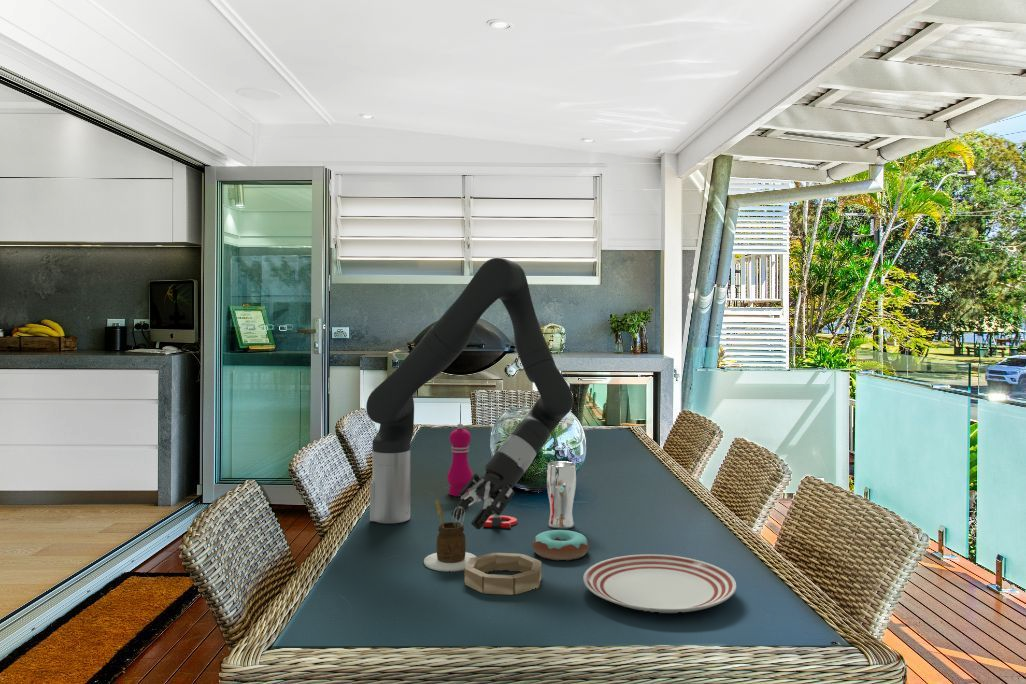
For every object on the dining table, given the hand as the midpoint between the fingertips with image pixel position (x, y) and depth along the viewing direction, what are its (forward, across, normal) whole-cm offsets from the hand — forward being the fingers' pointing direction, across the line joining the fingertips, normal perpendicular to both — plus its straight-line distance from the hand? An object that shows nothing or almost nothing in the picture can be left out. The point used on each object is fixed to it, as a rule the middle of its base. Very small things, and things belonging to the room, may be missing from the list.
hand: (464, 522), depth 157 cm
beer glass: (-17, -10, +29) cm, 35 cm away
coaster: (+8, 0, +3) cm, 9 cm away
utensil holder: (+8, 0, +3) cm, 8 cm away
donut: (-8, +7, +20) cm, 22 cm away
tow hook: (-9, -20, +20) cm, 30 cm away
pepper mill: (-13, -51, +25) cm, 58 cm away
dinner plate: (-9, +35, +21) cm, 42 cm away
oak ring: (+5, +14, +6) cm, 16 cm away
